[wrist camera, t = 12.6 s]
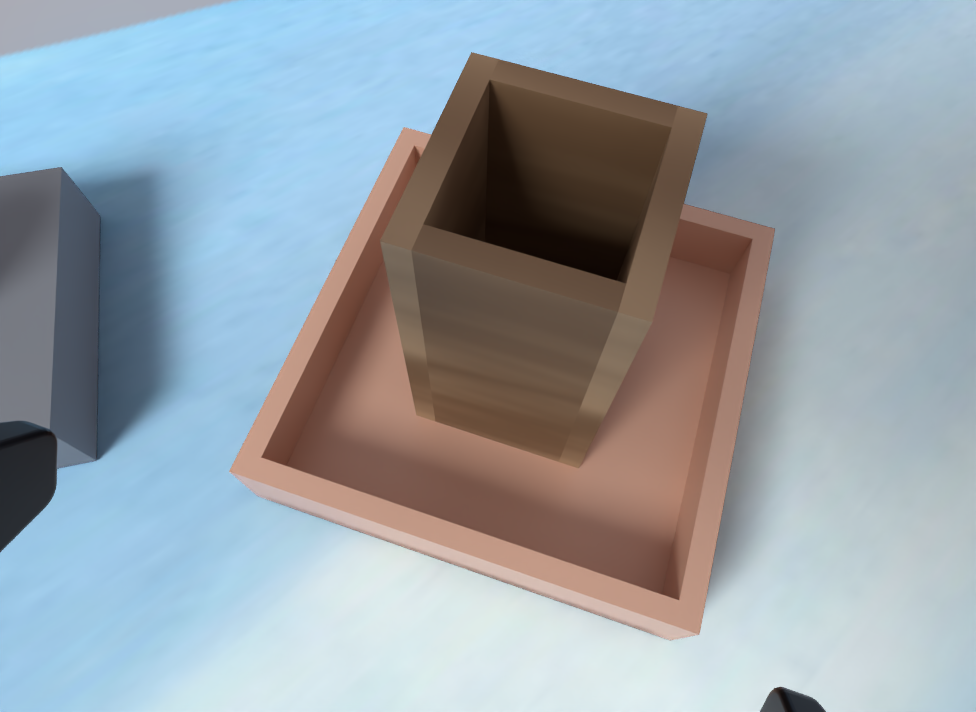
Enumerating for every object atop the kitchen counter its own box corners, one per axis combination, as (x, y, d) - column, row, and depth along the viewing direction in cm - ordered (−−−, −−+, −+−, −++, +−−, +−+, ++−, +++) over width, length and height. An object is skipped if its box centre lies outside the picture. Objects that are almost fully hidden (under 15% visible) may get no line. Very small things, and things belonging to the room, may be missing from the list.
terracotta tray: (670, 640, 19) (699, 634, 16) (257, 496, 20) (229, 471, 18) (744, 273, 24) (775, 228, 21) (410, 179, 25) (403, 127, 23)
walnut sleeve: (578, 468, 20) (652, 322, 12) (416, 415, 21) (380, 240, 12) (629, 292, 22) (718, 72, 14) (483, 249, 23) (489, 14, 15)
